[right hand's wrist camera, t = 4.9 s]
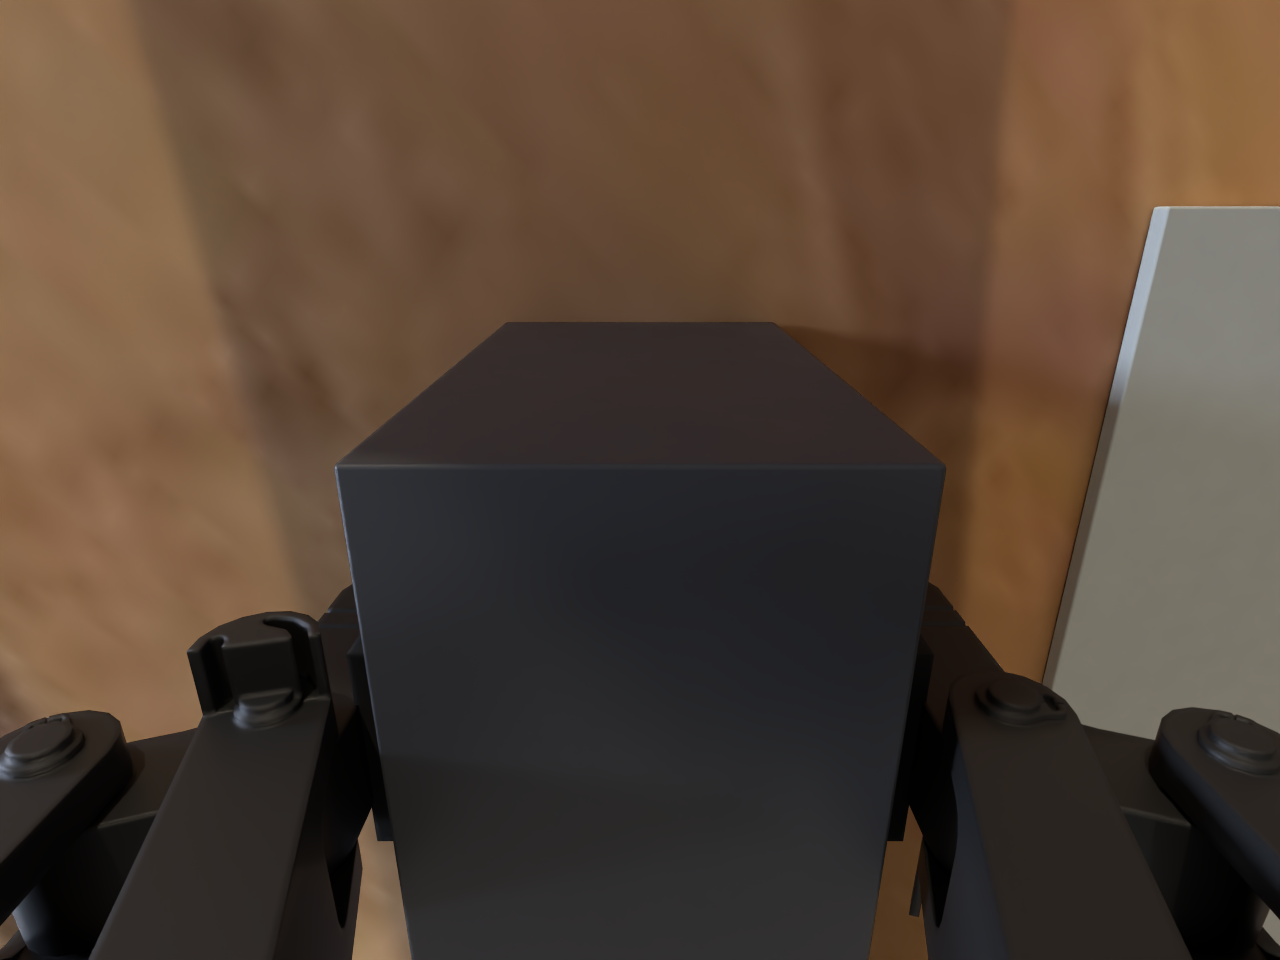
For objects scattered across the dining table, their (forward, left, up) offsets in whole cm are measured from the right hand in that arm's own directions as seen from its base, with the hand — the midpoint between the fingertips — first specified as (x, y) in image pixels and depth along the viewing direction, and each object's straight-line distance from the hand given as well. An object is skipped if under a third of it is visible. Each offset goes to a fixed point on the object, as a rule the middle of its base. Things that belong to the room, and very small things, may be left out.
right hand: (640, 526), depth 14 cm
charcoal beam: (0, -12, 0) cm, 12 cm away
